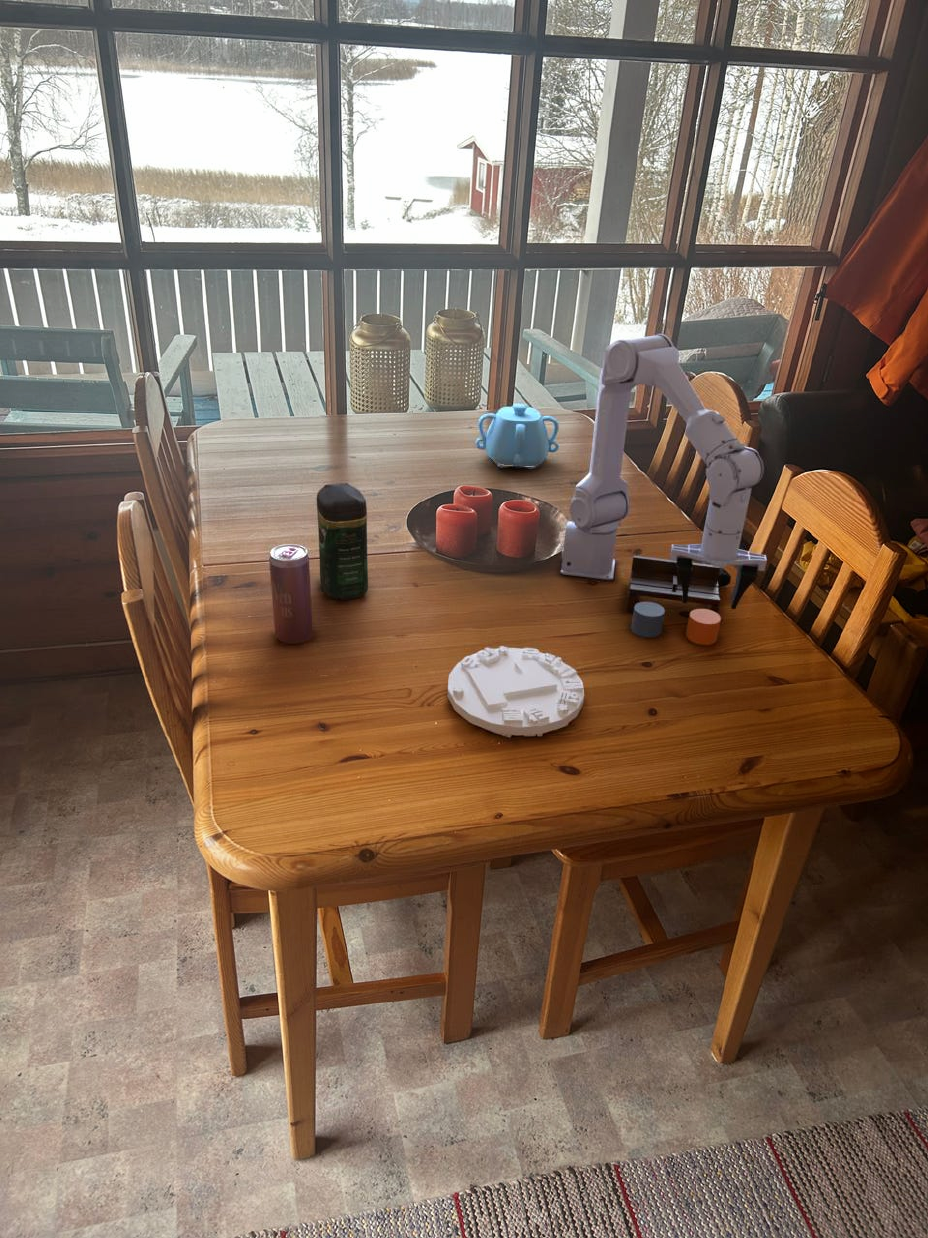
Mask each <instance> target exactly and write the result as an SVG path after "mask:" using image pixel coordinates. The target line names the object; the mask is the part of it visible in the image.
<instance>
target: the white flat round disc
mask: <svg viewBox="0 0 928 1238" xmlns="http://www.w3.org/2000/svg"><path fill="white" fill-rule="evenodd" d="M447 680H448V683H447V699H448V700H449V702H450V705H451V706H452V708H453V710H454V711H455V712H456V713H457V714H458V715H460V716H461V717H462V718H464V719H465V720H466V721H467V722H468V723H470V724H472V725H475V726H477V727H480V728H482V729H484V730H487V731H489V732H492V733H493V734H496V735H501V736H503V737H506V738H508V739H509V738H511V737H512V736H523V737H536V736H537V737H543V734H546V733H549V732H552V731H556V730H559V729H561V728H564V727H567V726H569V723H570V722H571V721H573V720H574V719H576V718H577V717H578V715H579V713H580V711H581V709H582V707H583V705H584V701H585V690H584V683H583V680H582V679H581V678H580V676H579V675H578V671H577V670H576V669H574V668H573V667H571V666H570V665H569V664H566V663H565V662H563V661H562V657H559V656H557V657H556V655H553V654H551V653H548V652H546V653H543V652H542V651H540V650H539V649H537V648H533V647H523V648H518V647H507V646H504V645H500V646H499V647H498V648H493V647H491V648H490V647H488V646H487V647H484V649H481V650H479V651H477V652H476V653H472V654H471V655H466V656H465V657H463V659H461V660H460V661H458V662H457V663H456V665H455V666H454V667H453V668H452V670H451V671H450V673H449V674H448V679H447Z"/></svg>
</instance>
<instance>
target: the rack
mask: <svg viewBox="0 0 928 1238" xmlns="http://www.w3.org/2000/svg"><path fill="white" fill-rule="evenodd" d="M630 570H631V571H630V576H629V582H628V591H627V603H626V613H631V614H633V612H634V607H635V605H636V600H637V599H636V598H637V596H639V597H646V598H654V599H661V600H669V601H677V602H682V595H683V591H682V585H681V580H680V577H679V574H678V571H677V561H673V560H670V559H665V558H656V557H648V556H642V555H641V556H640V555H633V556H632V562H631V568H630ZM719 572H720V567H714V566H713V565H707V564H699V563H693V565H692V575H691V579H690V584H689V590H688V600H687V603H693V604H701V605H706V606H707V607H706V609H708V610H712V611H714V612H716V613H717V614H719V609H720V607H719V606H720V604H721V598H720V591H719V588H718V577H719Z"/></svg>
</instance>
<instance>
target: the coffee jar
mask: <svg viewBox="0 0 928 1238" xmlns="http://www.w3.org/2000/svg"><path fill="white" fill-rule="evenodd" d="M367 506H368V505H367V500H366V497H365V495H363V493H362V492H361V491H360V489H358V488H356V487H355V486H353V485H350V484H349V483H348V482H339V483H328V484H325V485H323V487H321V488H320V489H319V490H318V492H317V494H316V512H317V513H316V514H317V524H318V525H317V528H318V530H317V531H318V552H319V553H318V555H319V557H318V558H319V581H320V585H321V587H322V590H323V592H324V593H325V595H327V596H328V597H329V598H330V599H336V600H345V601H346V600H347V601H348V600H353V599H356V598H358V597H359V598H360V597H361V596H364V595H366V594H367V593H368V590H369V571H368V567H369V566H368V564H369V563H368V509H367Z"/></svg>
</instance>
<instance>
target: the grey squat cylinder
mask: <svg viewBox="0 0 928 1238" xmlns="http://www.w3.org/2000/svg"><path fill="white" fill-rule="evenodd" d="M665 613H666V609H665V608H664V607H663V605H661V604H658V603H656V602H653V601H640V602H637V603H635V606H634V612H633V613H632V619H631V626H630V629H631V632H633V634H635V635H637V636H639V637H643V638H657V637H659V636H660V635H661V634H662V630H663V624H664V620H665Z"/></svg>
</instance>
